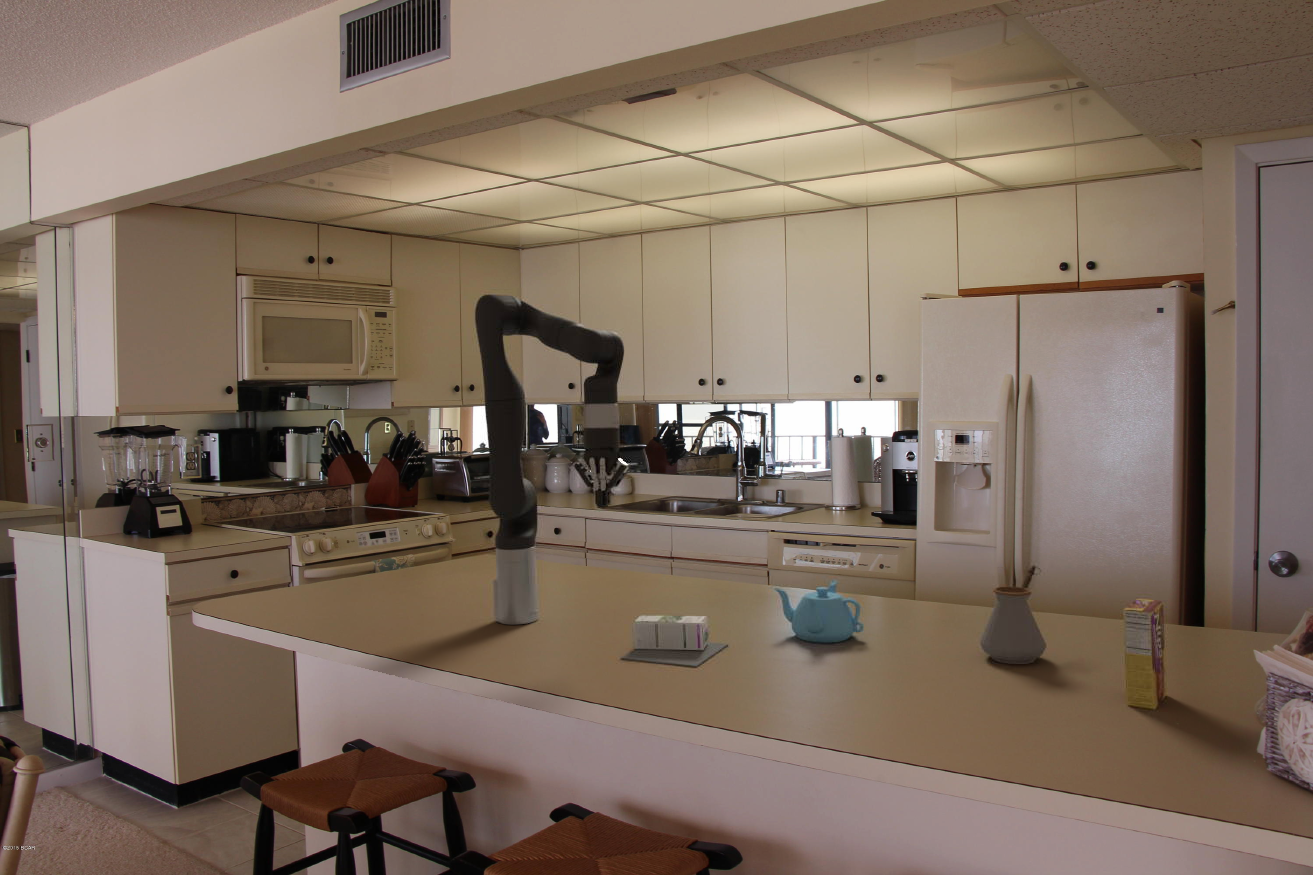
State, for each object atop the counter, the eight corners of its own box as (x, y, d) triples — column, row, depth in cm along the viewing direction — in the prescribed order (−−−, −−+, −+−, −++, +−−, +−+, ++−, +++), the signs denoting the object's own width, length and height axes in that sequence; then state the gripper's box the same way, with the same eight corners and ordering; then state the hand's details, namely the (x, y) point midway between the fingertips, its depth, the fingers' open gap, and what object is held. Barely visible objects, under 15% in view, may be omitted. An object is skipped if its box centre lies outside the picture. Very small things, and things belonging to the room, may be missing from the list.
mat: (621, 658, 175) (620, 657, 175) (657, 638, 189) (657, 637, 189) (696, 667, 168) (696, 665, 168) (728, 645, 182) (728, 643, 182)
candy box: (1137, 690, 147) (1136, 597, 147) (1167, 695, 144) (1166, 600, 144) (1123, 705, 140) (1122, 608, 140) (1154, 710, 138) (1153, 611, 137)
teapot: (873, 641, 182) (872, 591, 182) (807, 649, 177) (806, 598, 177) (836, 625, 196) (835, 578, 196) (773, 632, 191) (772, 584, 191)
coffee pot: (1036, 671, 159) (1035, 586, 158) (971, 661, 166) (969, 580, 165) (1067, 643, 176) (1066, 567, 175) (1006, 635, 183) (1005, 562, 182)
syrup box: (632, 649, 180) (704, 652, 177) (631, 620, 180) (703, 622, 177) (639, 641, 186) (709, 644, 183) (638, 613, 186) (708, 615, 182)
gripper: (564, 426, 189) (566, 508, 189) (619, 426, 182) (621, 511, 183) (583, 425, 195) (585, 504, 196) (637, 425, 189) (639, 507, 190)
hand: (602, 507), depth 189 cm, fingers closed
